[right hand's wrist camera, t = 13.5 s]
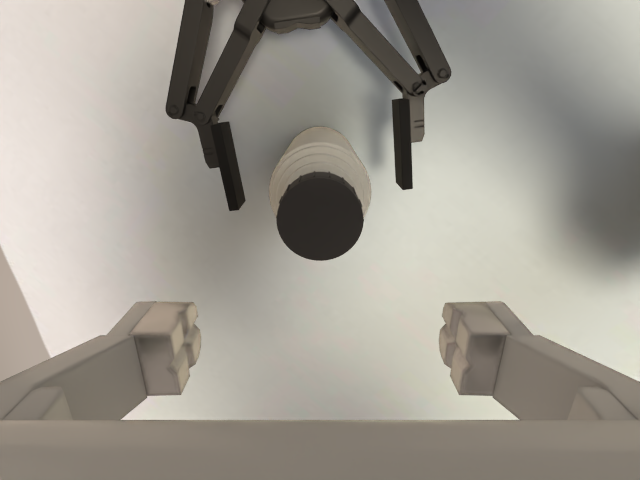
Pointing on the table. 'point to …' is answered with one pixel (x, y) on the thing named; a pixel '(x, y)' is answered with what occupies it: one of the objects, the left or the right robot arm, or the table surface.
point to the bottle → (320, 164)
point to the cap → (320, 216)
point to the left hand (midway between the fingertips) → (320, 196)
